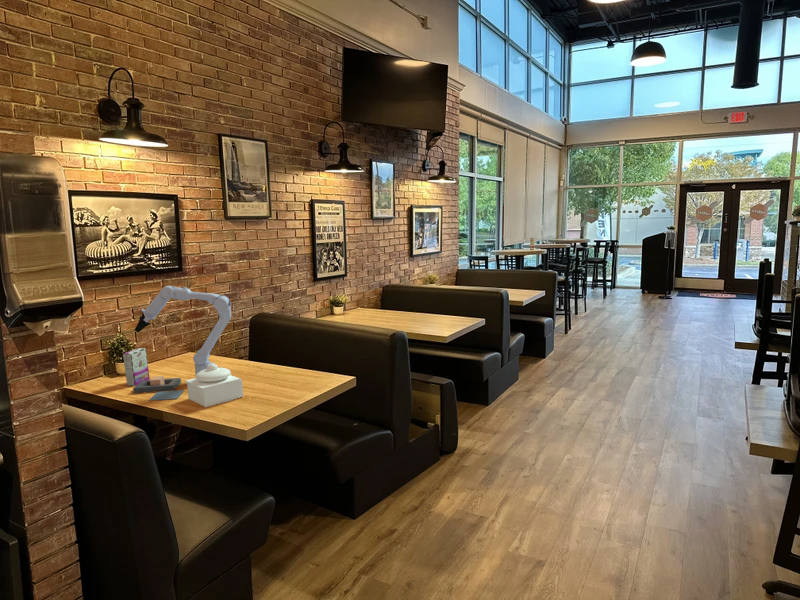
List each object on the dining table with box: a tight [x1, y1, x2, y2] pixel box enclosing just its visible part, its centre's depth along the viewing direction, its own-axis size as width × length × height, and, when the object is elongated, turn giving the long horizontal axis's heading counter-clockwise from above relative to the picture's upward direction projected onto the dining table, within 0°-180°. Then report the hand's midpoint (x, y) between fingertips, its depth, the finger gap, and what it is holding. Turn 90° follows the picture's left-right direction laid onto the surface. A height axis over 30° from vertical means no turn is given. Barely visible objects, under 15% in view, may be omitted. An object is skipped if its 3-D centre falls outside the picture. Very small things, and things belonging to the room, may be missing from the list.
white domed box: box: [185, 363, 244, 408], centre depth 235 cm, size 18×18×16 cm
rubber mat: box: [148, 389, 185, 402], centre depth 242 cm, size 12×12×1 cm
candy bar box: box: [122, 347, 151, 387], centre depth 263 cm, size 11×5×16 cm, turn 168°
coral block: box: [149, 375, 165, 385], centre depth 254 cm, size 4×6×5 cm
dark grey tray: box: [132, 377, 182, 394], centre depth 254 cm, size 18×12×2 cm
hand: (137, 328), depth 254 cm, fingers open, 7 cm apart
